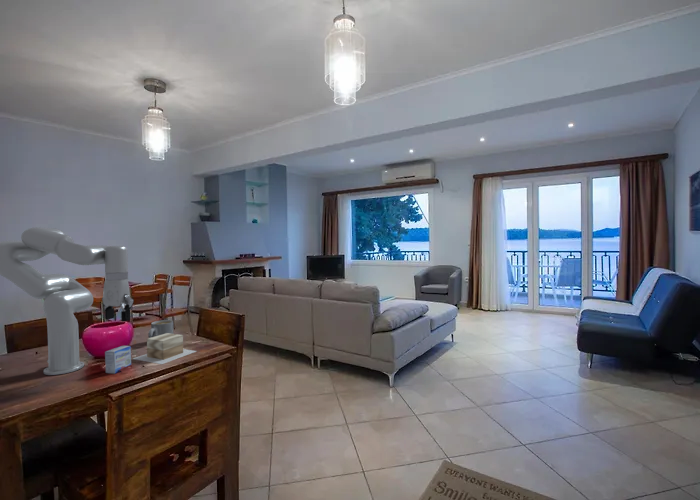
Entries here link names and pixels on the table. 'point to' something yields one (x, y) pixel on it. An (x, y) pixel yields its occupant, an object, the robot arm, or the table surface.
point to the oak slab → (165, 352)
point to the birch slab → (164, 341)
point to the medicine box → (117, 359)
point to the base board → (160, 361)
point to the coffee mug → (161, 328)
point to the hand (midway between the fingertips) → (117, 319)
